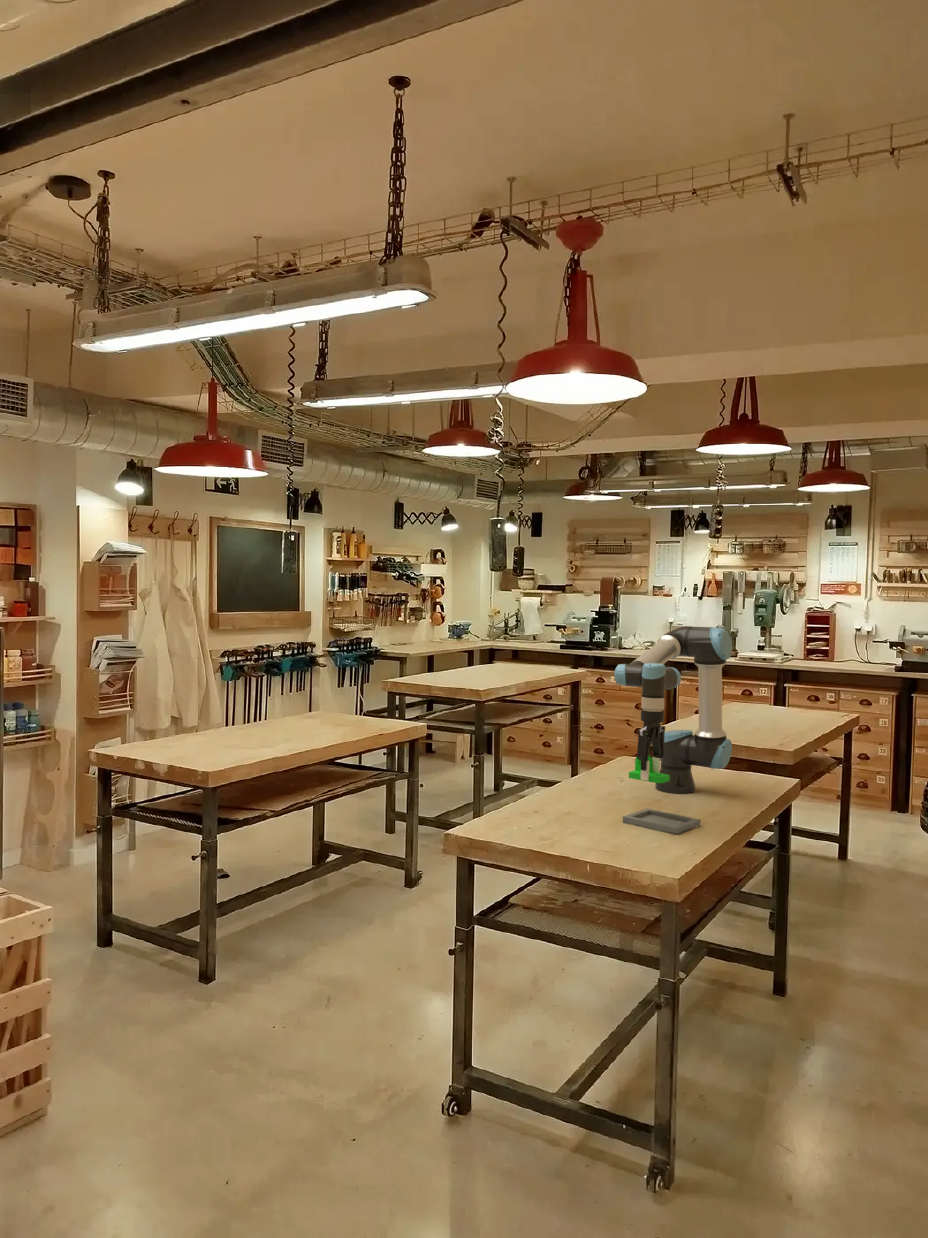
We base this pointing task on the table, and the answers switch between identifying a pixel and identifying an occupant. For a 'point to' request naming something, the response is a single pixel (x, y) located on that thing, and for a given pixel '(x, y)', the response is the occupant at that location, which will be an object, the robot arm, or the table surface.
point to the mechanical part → (653, 775)
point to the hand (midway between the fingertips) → (650, 778)
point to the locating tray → (661, 821)
